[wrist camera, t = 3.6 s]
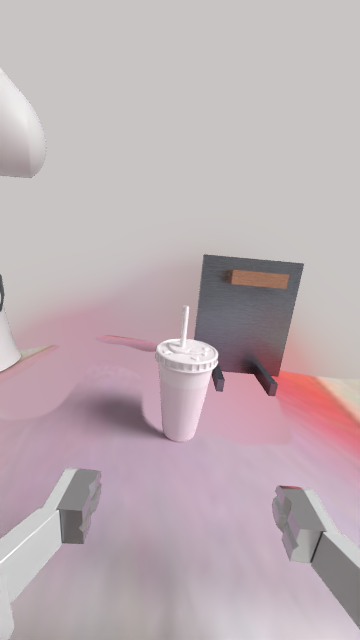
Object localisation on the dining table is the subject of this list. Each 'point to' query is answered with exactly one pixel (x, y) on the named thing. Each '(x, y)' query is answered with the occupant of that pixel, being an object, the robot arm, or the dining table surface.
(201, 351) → the smoothie
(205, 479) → the dining table surface
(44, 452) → the dining table surface
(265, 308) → the gray menu stand
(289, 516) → the robot arm
